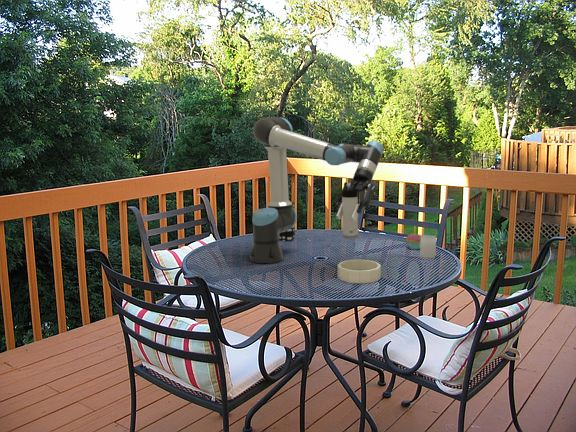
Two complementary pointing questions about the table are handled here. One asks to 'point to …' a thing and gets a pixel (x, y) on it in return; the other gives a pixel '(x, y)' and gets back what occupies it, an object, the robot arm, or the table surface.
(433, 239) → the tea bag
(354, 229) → the travel mug
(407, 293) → the table surface
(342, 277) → the bowl
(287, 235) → the white-spotted black cylinder
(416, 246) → the cupcake
